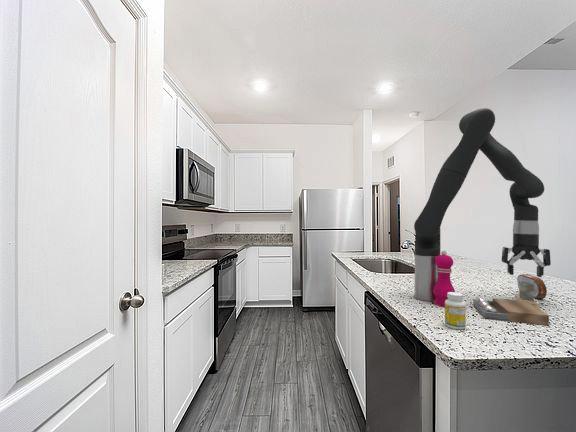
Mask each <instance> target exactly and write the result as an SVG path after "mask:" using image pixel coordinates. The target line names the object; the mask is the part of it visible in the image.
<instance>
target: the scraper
mask: <svg viewBox="0 0 576 432" xmlns="http://www.w3.org/2000/svg"><path fill="white" fill-rule="evenodd" d="M518 290H519V291H518V292H519V293H518V294H517V293H515V294H514V300H519V301H527V302H529V303H530V304H532V305H533V306H535V307H536V308H538V309H540V310H541V304H540V303H538V302H536V301H535V298H534V284H532V283H530V282H519V288H518Z"/></svg>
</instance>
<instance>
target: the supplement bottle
mask: <svg viewBox="0 0 576 432" xmlns="http://www.w3.org/2000/svg"><path fill="white" fill-rule="evenodd" d="M447 297H448V299H447V300H446V301H445V307H444V324H445V325H444V326H446V327H447V328H451V329H454V330H465V329H466V328H467V314H466V312H467V309H466V308H467V304H466V302H465V301H463V300H464V294H462V293H460V292H456V291H455V292H448V293H447Z"/></svg>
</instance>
